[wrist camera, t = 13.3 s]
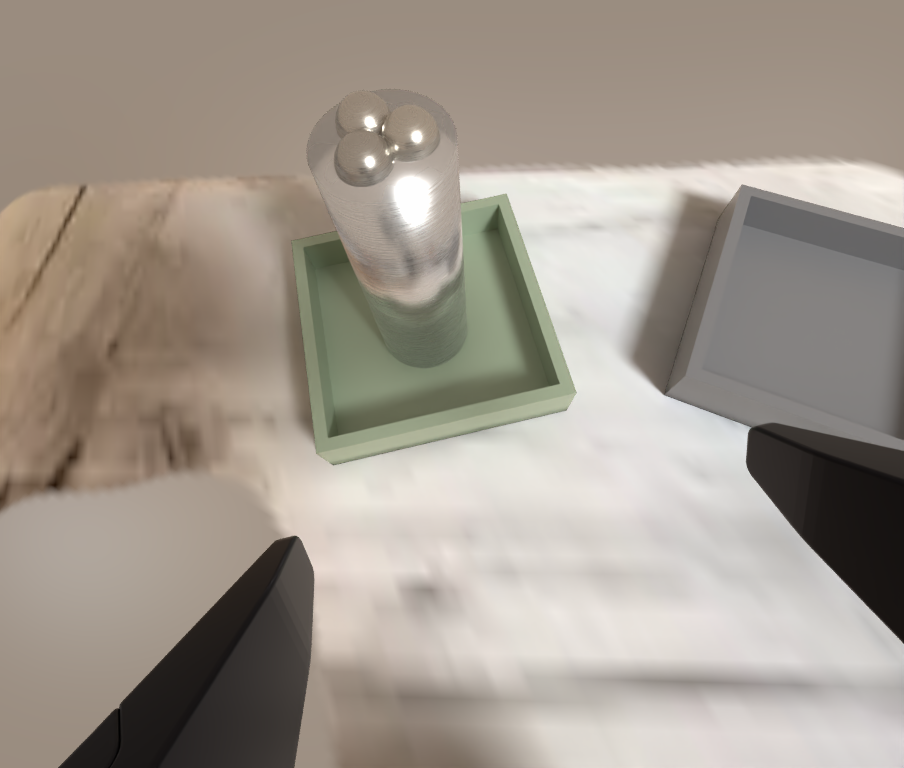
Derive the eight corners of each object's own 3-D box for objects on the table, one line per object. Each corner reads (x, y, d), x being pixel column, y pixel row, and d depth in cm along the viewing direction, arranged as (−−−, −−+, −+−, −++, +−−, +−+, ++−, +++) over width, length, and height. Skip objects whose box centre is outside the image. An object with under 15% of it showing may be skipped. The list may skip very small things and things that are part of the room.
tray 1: (566, 410, 24) (576, 392, 21) (333, 465, 23) (316, 453, 21) (504, 225, 28) (506, 193, 26) (307, 269, 28) (291, 240, 25)
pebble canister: (470, 364, 24) (461, 168, 12) (383, 371, 24) (290, 185, 12) (463, 289, 26) (450, 53, 14) (382, 296, 26) (300, 69, 14)
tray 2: (929, 492, 21) (986, 483, 19) (664, 394, 24) (685, 375, 21) (948, 283, 25) (998, 253, 23) (718, 218, 27) (741, 184, 25)
